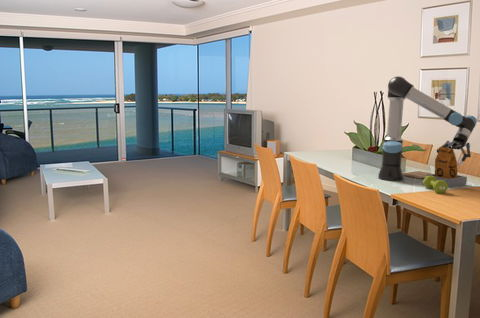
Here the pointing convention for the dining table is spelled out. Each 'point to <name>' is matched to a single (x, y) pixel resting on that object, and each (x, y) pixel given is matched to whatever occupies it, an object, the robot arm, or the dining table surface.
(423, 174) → the board
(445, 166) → the coffee package
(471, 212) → the dining table surface
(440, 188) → the dumbbell
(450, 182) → the tray
